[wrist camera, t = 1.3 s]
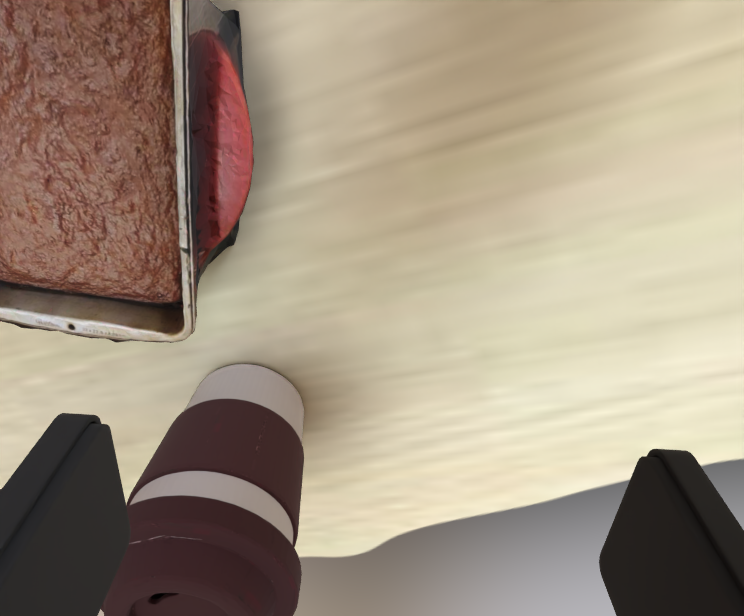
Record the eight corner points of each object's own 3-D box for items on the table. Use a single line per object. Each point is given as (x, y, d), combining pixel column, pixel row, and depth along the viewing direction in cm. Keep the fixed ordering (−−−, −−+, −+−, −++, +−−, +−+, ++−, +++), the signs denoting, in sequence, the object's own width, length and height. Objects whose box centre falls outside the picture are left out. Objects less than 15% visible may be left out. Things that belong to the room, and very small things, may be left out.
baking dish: (8, 213, 33) (-95, 327, 26) (-79, -175, 22) (-307, -176, 15) (254, 253, 36) (226, 369, 28) (288, -82, 24) (257, -40, 17)
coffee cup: (328, 459, 40) (300, 688, 27) (189, 457, 41) (97, 683, 28) (321, 343, 35) (282, 557, 22) (163, 342, 36) (35, 553, 23)
